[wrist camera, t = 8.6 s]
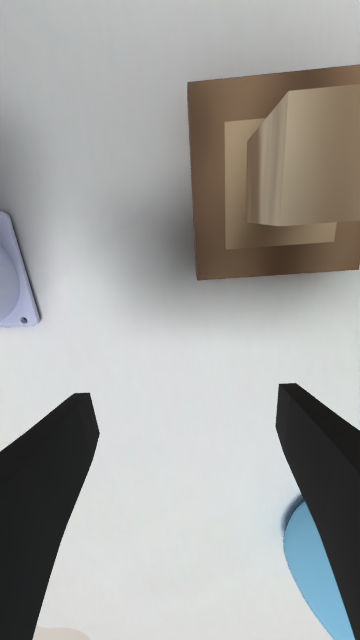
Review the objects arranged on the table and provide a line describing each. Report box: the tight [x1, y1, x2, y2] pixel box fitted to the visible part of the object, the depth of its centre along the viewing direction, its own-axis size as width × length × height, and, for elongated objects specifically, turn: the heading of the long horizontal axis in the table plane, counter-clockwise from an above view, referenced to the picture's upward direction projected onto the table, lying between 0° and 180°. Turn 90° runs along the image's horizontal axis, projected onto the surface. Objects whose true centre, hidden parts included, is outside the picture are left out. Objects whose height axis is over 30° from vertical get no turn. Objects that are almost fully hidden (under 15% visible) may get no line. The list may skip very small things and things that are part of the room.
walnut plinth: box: [187, 65, 360, 280], centre depth 15 cm, size 10×10×2 cm
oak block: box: [246, 84, 360, 226], centre depth 12 cm, size 4×4×6 cm
